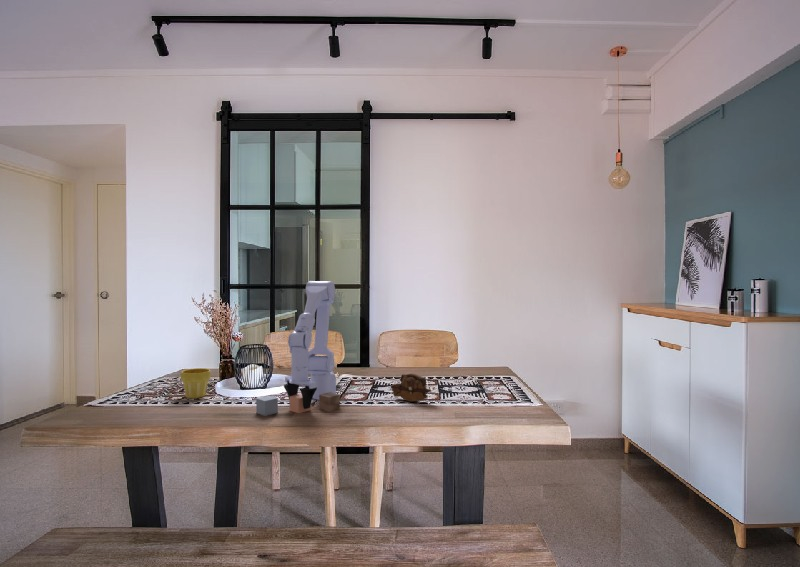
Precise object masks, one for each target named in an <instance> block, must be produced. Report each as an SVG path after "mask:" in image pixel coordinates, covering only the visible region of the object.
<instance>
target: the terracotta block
mask: <svg viewBox="0 0 800 567" xmlns="http://www.w3.org/2000/svg"><path fill="white" fill-rule="evenodd" d="M289 411H290V412H293V413H296V414H301V413H305V412H309V411H311V407H310V408H308V409H304V407H303V398H302V394H301V393H297V395H293V396H290V401H289Z"/></svg>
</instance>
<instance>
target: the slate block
mask: <svg viewBox="0 0 800 567" xmlns="http://www.w3.org/2000/svg"><path fill="white" fill-rule="evenodd" d="M255 400H256V401H255V402H256V406H255V407H256V409H255V410H256V411H255V412H256V414H258V415H261V416H264V417H266V416H270V415H271V416H272V415H273V414H277V413H279V411H278V410H279V401H278V400H279V397H275V396H272V395H267V396H266V395H265V396H262V397H256V399H255Z"/></svg>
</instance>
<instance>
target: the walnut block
mask: <svg viewBox="0 0 800 567" xmlns="http://www.w3.org/2000/svg"><path fill="white" fill-rule="evenodd" d="M340 400H341V394H339V393H337V392H336V393H332V392H328V393H324V394H320V395H319V400H318V408H319V410H321V411H325V412H327V413H329V412H332V411H336V410H339V409H341V405H340V404H341V401H340Z"/></svg>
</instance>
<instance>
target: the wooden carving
mask: <svg viewBox="0 0 800 567" xmlns="http://www.w3.org/2000/svg"><path fill="white" fill-rule="evenodd" d="M399 380H400V382H398V383H394V384H392V385H390V388H391V391H392V394H393V395H392V396H393V397H399V398H401V399H403V400H405V401H407V402H420V401H423V400H425V399H428V398H429V397H428V395H427V393H431V392H432V390H431V388H427V386H426V385H427V379H426V377H423V376H421V375H419V374H417V373H407V374H405V373H403V374H401V376H400V379H399Z"/></svg>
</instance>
